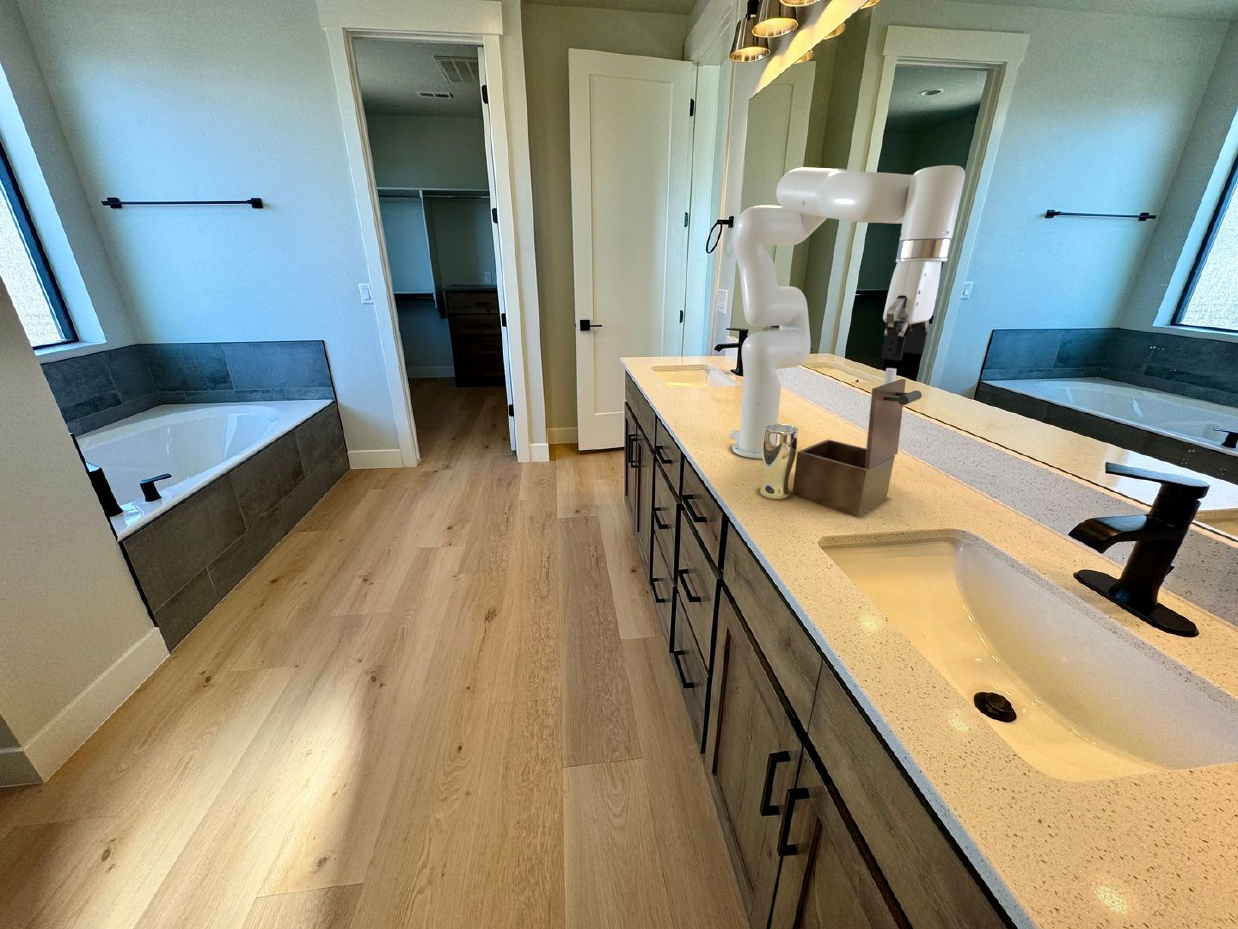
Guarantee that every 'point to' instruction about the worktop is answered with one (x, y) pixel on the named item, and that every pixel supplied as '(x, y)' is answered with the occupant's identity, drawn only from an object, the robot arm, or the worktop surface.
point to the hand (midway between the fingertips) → (902, 356)
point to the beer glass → (778, 459)
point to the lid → (886, 420)
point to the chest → (841, 477)
